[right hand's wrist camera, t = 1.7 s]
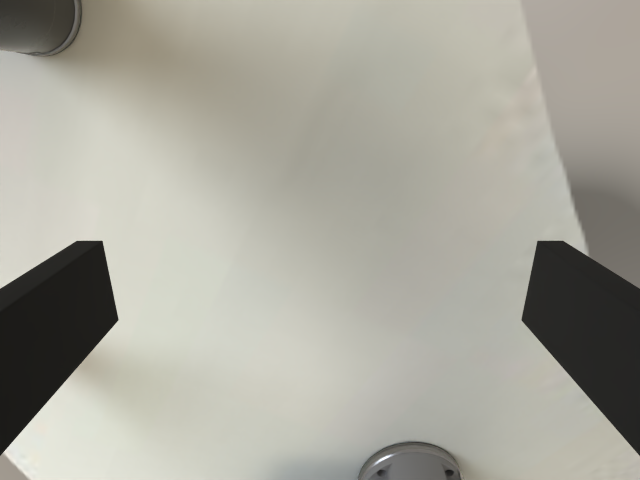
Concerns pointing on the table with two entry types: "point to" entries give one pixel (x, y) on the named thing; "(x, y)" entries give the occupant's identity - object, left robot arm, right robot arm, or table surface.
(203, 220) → the table surface
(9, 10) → the left robot arm
